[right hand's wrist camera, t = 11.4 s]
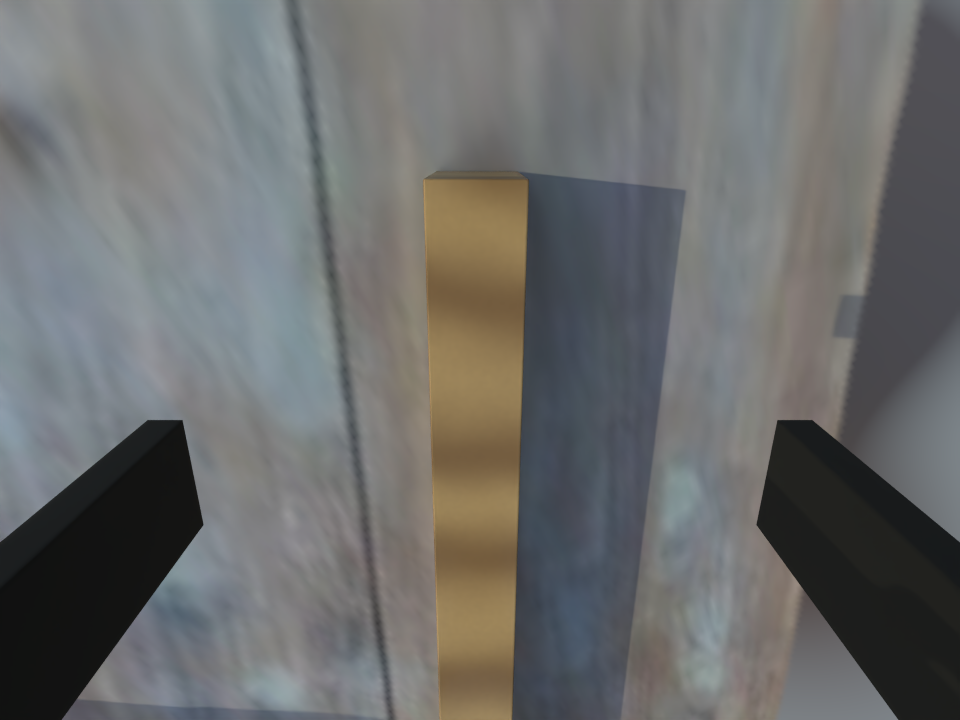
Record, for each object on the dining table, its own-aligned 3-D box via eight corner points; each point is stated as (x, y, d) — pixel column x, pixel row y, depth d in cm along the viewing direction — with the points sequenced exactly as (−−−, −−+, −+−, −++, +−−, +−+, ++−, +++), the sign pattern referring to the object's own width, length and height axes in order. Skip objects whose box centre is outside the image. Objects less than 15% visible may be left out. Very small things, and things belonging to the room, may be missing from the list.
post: (435, 171, 33) (423, 178, 25) (518, 171, 33) (529, 179, 26) (451, 849, 54) (446, 956, 47) (501, 849, 54) (504, 957, 47)
